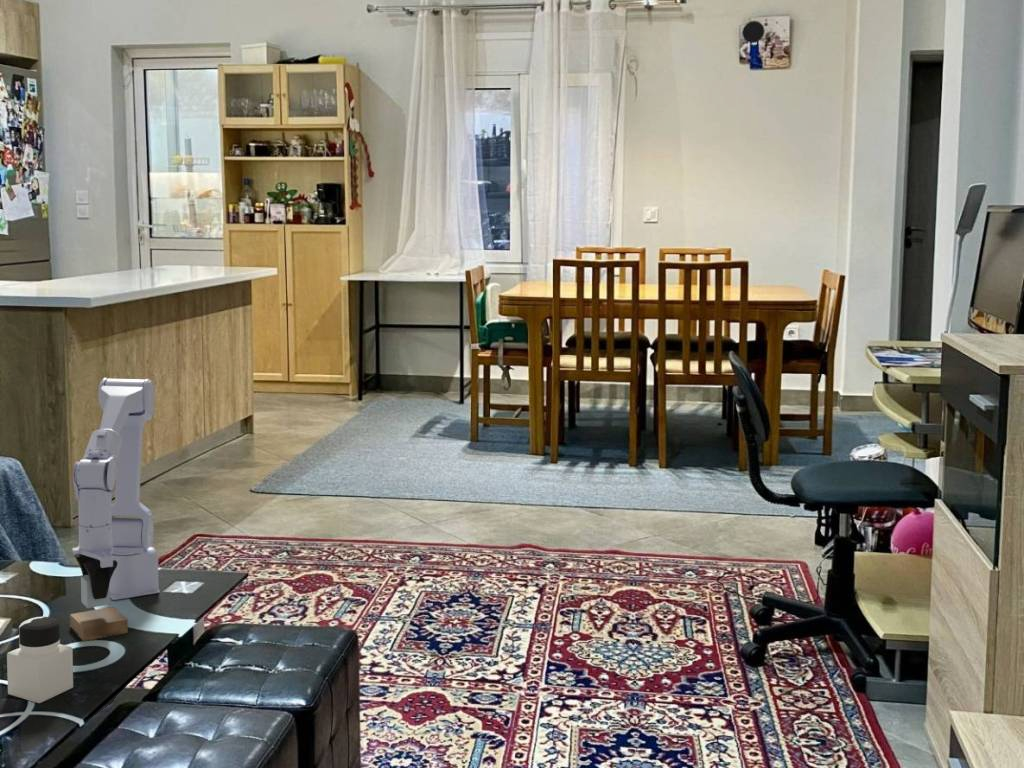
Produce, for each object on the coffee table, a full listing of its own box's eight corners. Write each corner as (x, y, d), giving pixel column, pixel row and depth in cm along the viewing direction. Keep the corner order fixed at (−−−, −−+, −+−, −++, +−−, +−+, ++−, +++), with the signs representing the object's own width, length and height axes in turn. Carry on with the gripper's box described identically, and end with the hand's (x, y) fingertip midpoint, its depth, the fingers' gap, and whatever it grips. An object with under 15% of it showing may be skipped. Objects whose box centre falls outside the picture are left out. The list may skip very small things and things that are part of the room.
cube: (103, 598, 209) (103, 572, 208) (109, 604, 206) (109, 578, 205) (81, 601, 206) (80, 575, 206) (87, 608, 203) (86, 582, 203)
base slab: (113, 621, 213) (113, 606, 212) (127, 634, 207) (127, 619, 206) (70, 629, 208) (70, 614, 208) (83, 643, 202) (83, 627, 201)
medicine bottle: (74, 687, 182) (72, 618, 181) (39, 704, 176) (37, 632, 174) (42, 678, 185) (40, 610, 184) (6, 694, 179) (4, 623, 177)
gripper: (62, 516, 207) (63, 586, 209) (83, 536, 196) (84, 610, 198) (101, 511, 211) (101, 580, 213) (124, 530, 200) (125, 603, 202)
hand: (96, 594), depth 206 cm, fingers closed on cube, 4 cm apart
